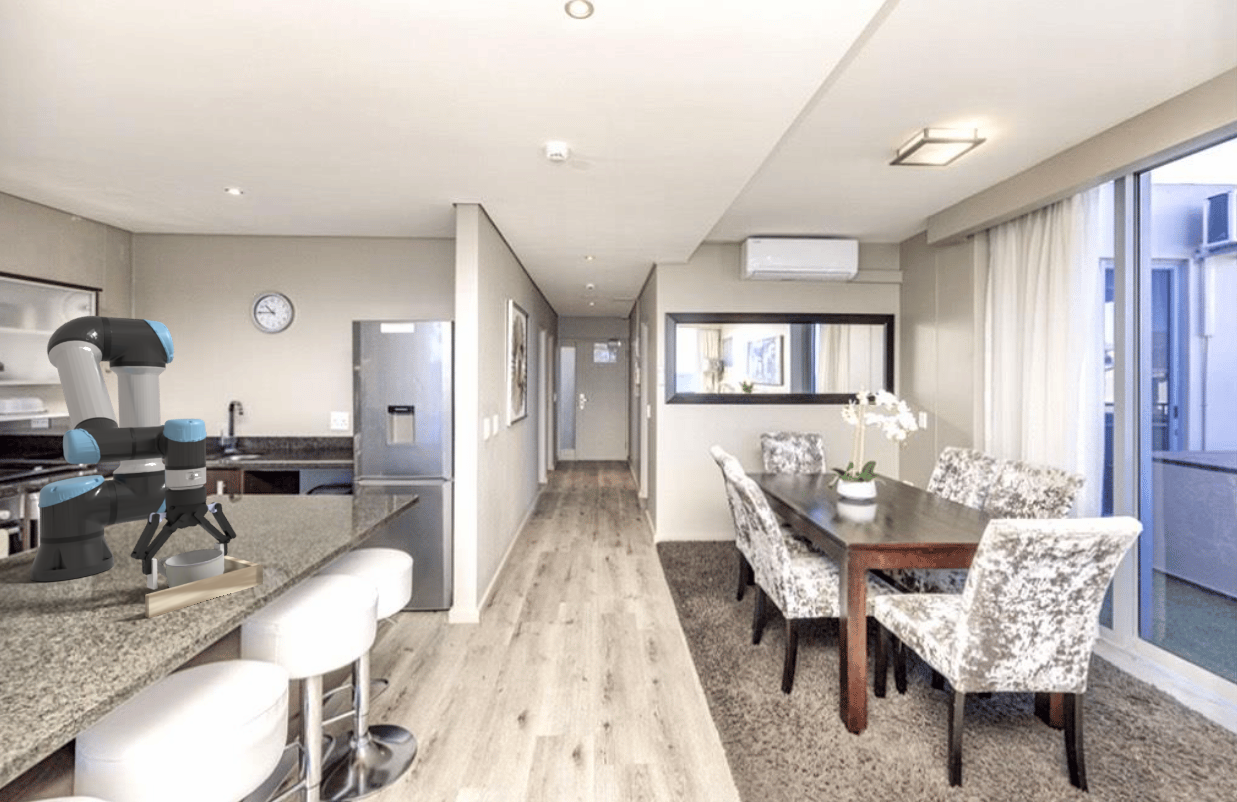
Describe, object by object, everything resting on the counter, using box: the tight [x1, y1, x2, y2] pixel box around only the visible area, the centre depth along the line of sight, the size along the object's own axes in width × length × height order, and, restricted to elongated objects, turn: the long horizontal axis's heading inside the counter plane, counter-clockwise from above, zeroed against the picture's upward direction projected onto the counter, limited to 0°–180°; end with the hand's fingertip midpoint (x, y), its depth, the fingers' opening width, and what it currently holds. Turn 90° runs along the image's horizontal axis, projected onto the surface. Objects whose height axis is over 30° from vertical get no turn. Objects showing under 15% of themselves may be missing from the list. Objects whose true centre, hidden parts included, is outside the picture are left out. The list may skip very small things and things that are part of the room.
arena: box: [144, 555, 264, 619], centre depth 129 cm, size 20×22×4 cm
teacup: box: [157, 548, 224, 588], centre depth 130 cm, size 14×11×8 cm
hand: (187, 579), depth 130 cm, fingers open, 13 cm apart
